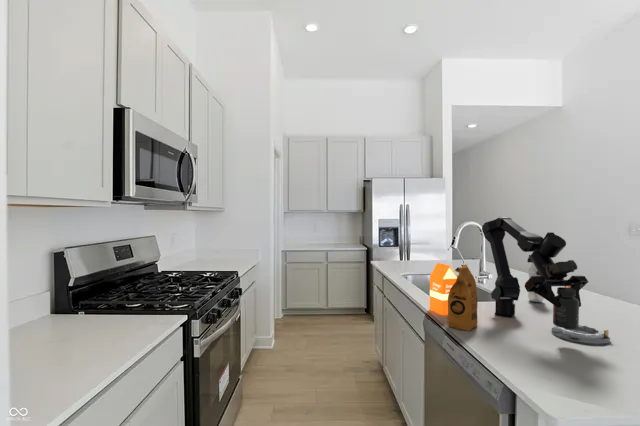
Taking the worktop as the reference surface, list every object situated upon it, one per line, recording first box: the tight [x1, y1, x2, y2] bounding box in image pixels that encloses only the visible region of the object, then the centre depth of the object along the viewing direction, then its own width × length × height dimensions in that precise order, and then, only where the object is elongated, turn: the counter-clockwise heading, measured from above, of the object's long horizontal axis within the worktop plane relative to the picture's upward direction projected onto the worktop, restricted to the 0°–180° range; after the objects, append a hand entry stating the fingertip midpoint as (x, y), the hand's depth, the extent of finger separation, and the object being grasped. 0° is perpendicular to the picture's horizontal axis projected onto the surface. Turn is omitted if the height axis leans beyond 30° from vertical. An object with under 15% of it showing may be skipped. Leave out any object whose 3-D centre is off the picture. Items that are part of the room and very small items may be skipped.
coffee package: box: [447, 264, 478, 332], centre depth 132 cm, size 10×12×22 cm
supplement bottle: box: [552, 286, 580, 329], centre depth 114 cm, size 7×7×12 cm
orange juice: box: [429, 262, 458, 316], centre depth 151 cm, size 8×9×20 cm
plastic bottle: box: [527, 262, 545, 303], centre depth 168 cm, size 6×7×20 cm
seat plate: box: [551, 323, 611, 346], centre depth 121 cm, size 16×16×4 cm
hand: (569, 306), depth 113 cm, fingers closed on supplement bottle, 7 cm apart
